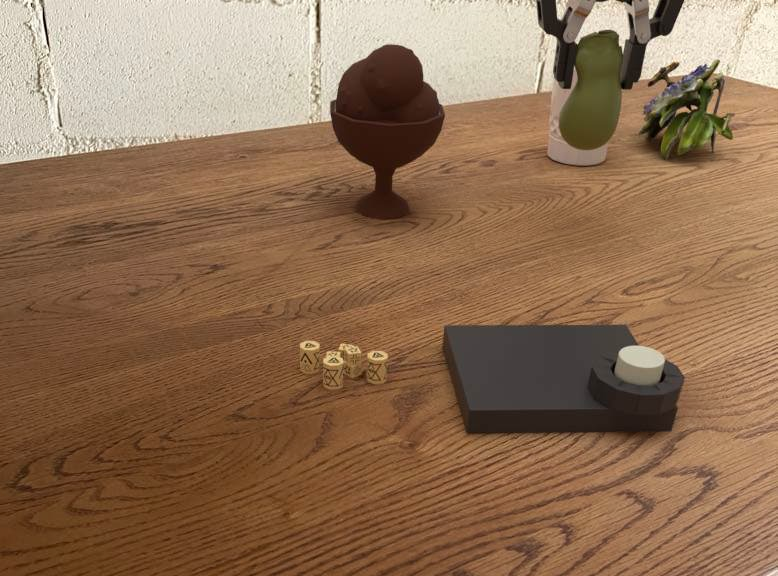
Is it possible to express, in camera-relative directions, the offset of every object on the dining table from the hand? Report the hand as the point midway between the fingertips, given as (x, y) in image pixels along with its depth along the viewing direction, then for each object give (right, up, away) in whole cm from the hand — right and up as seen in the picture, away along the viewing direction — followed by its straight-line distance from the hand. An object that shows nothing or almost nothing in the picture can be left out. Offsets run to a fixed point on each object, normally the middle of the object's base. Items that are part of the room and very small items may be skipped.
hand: (594, 86), depth 83 cm
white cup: (+4, +4, +24) cm, 25 cm away
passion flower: (+17, +6, +29) cm, 34 cm away
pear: (0, -4, +4) cm, 6 cm away
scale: (-7, -30, -17) cm, 35 cm away
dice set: (-22, -29, -16) cm, 40 cm away
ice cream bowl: (-19, -8, +9) cm, 23 cm away
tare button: (-2, -30, -21) cm, 37 cm away
